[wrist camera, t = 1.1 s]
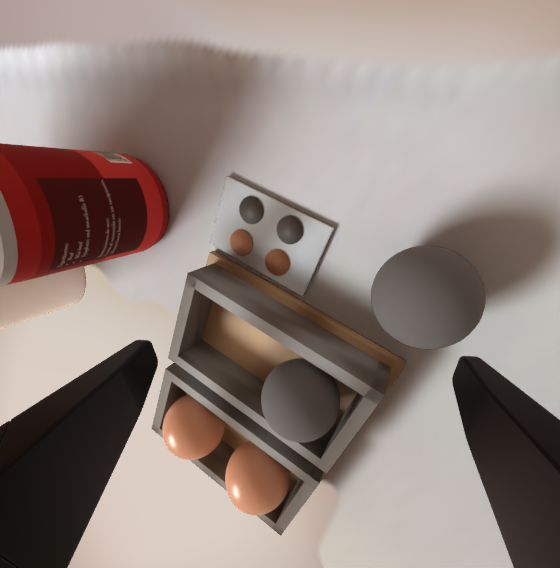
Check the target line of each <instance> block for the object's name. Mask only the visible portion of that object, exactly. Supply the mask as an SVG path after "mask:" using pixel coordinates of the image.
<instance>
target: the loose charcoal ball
mask: <svg viewBox="0 0 560 568" xmlns="http://www.w3.org/2000/svg"><path fill="white" fill-rule="evenodd" d="M371 303H372V308H373V312H374V314H375V317H376V319H377V320H378V322H379V324H380V325H381V326H382V328H383V329H384V330H385V331H386V332H387V333H388V334H389V335H390V336H392V337H393V338H394V339H396V340H398V341H399V342H401V343H403V344H406V345H408V346H411V347H415V348H421V349H438V348H443V347H447V346H450V345H453V344H455V343H457V342H459V341H461V340H462V339H464V338H465V337H466V336H468V335H469V334H470V333H471V332H472V331H473V330H474V329H475V327H476V326H477V325H478V323H479V321H480V319H481V317H482V315H483V311H484V308H485V290H484V285H483V282H482V280H481V277H480V276H479V274H478V272H477V271H476V269H475V268H474V267H473V266H472V264H471V263H469V262H468V261H467V260H466V259H465V258H464V257H462V256H461V255H459V254H457V253H455V252H453V251H451V250H448V249H445V248H441V247H435V246H419V247H413V248H409V249H406V250H403V251H401V252H399V253H397V254H396V255H394V256H393V257H391V258H390V259H389V260H388V261H387V262H385V264H384V265H383V266H382V267H381V268H380V270H379V271H378V273H377V275H376V277H375V279H374V282H373V285H372V290H371Z"/></svg>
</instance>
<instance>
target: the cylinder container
mask: <svg viewBox="0 0 560 568" xmlns="http://www.w3.org/2000/svg"><path fill="white" fill-rule="evenodd" d="M85 286H86V277H85V270H84V266H82V267H78V268H74V269H70V270H66V271H62V272H58V273H54V274H50V275H47V276H43V277H39V278H35V279H31V280H27V281H22V282H17V283H13V284H9V285H5V286H1V287H0V329H3V328H6V327H8V326H11V325H14V324H17V323H20V322H23V321H26V320H29V319H32V318H34V317H37V316H40V315H43V314H46V313H49V312H52V311H55V310H58V309H60V308H63V307H66V306H69V305H72V304H75V303H77V302H79V301H80V300H81V298H82V297H83V294H84V292H85Z"/></svg>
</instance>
